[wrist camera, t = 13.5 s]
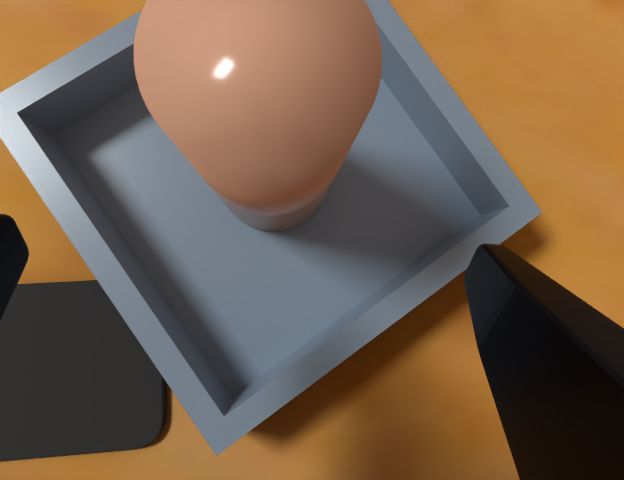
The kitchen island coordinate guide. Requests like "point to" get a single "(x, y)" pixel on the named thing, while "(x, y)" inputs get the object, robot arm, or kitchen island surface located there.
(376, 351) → the kitchen island surface
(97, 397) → the phone
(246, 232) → the tray
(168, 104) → the tan rounded glossy part
